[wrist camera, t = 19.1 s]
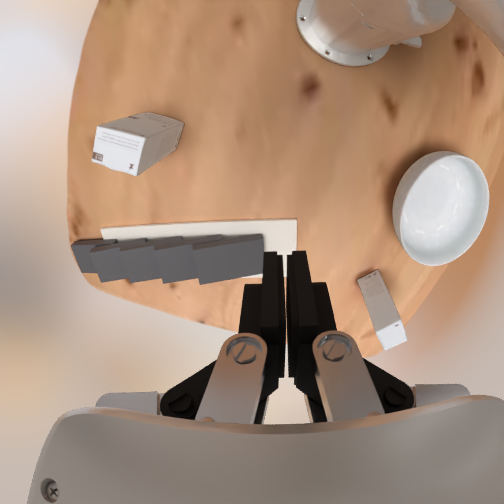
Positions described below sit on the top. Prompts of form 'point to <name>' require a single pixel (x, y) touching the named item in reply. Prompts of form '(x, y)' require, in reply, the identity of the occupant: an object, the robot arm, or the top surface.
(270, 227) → the board
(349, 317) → the top surface
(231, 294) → the top surface
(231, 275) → the domino
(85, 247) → the domino
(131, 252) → the domino
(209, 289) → the top surface
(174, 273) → the domino
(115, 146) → the skincare box
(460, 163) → the cereal bowl
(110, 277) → the domino
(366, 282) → the skincare box
